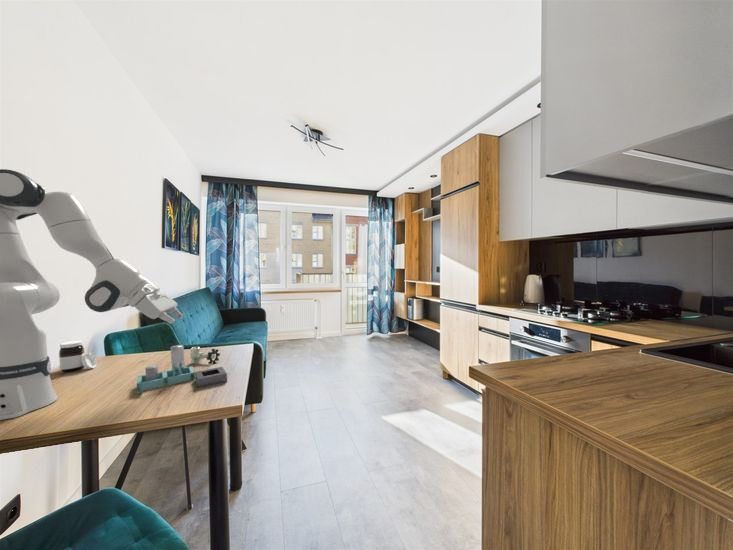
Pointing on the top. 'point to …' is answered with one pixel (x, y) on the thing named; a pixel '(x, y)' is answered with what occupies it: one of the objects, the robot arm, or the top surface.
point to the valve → (203, 355)
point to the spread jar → (75, 357)
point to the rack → (162, 378)
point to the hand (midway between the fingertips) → (177, 319)
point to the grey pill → (177, 360)
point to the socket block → (210, 377)
